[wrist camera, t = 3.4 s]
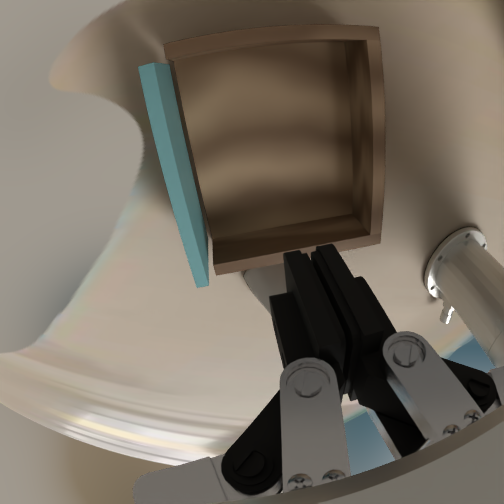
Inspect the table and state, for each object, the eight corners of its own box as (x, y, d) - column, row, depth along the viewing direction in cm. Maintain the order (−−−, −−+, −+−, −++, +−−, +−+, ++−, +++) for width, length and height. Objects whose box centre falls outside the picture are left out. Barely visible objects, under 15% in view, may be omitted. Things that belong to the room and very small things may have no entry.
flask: (231, 274, 36) (239, 340, 28) (280, 236, 34) (304, 297, 26) (270, 306, 40) (285, 369, 31) (316, 273, 38) (343, 333, 29)
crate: (356, 215, 34) (380, 243, 29) (214, 241, 33) (216, 275, 28) (348, 31, 23) (378, 26, 18) (173, 49, 22) (163, 44, 17)
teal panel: (208, 238, 31) (208, 285, 25) (198, 239, 31) (196, 287, 25) (169, 64, 22) (153, 62, 16) (157, 67, 22) (138, 66, 16)
